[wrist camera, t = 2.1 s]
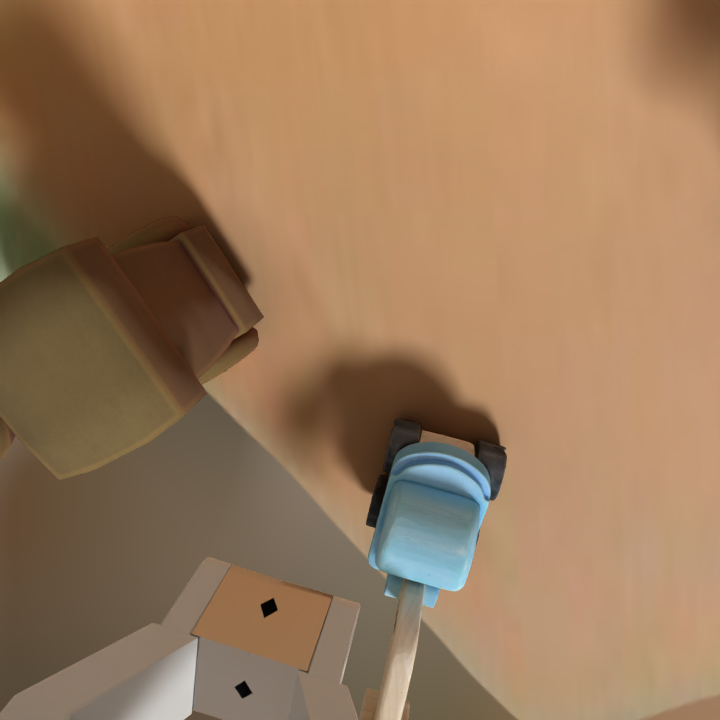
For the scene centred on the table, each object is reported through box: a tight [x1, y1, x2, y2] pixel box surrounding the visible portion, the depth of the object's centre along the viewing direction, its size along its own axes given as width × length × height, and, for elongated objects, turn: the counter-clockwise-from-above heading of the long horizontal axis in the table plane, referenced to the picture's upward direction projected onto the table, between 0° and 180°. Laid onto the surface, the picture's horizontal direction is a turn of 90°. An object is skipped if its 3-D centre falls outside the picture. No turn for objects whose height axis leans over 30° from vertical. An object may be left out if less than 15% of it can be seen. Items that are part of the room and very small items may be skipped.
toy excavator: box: [359, 419, 507, 720], centre depth 39 cm, size 9×17×17 cm, turn 169°
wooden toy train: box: [0, 216, 263, 480], centre depth 38 cm, size 20×11×17 cm, turn 122°
